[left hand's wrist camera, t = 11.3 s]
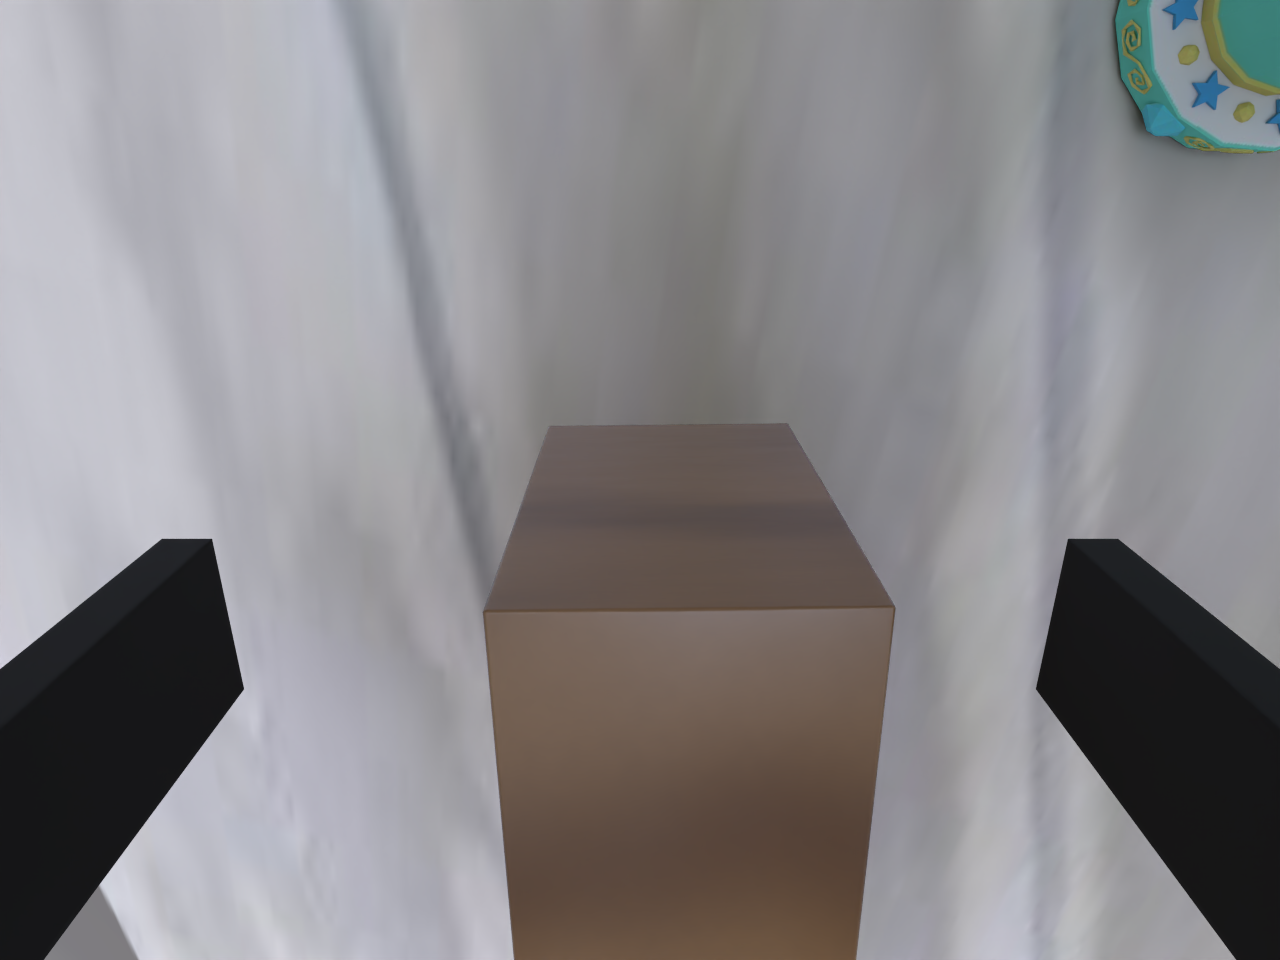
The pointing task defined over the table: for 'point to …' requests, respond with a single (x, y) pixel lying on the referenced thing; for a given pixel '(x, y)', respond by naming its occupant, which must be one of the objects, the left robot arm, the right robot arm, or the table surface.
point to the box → (685, 699)
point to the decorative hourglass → (1204, 70)
